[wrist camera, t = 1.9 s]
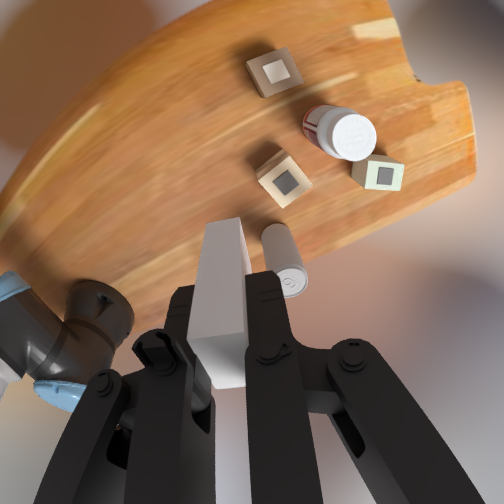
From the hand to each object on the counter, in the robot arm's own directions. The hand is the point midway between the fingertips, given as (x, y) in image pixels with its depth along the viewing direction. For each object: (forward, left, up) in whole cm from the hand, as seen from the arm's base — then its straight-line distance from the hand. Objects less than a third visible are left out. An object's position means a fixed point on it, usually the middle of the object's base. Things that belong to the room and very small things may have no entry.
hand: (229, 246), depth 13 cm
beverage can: (+4, -15, -27) cm, 31 cm away
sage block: (+20, -6, -27) cm, 34 cm away
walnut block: (+7, +9, -27) cm, 29 cm away
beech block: (+6, -5, -27) cm, 28 cm away
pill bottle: (+13, +1, -27) cm, 30 cm away
